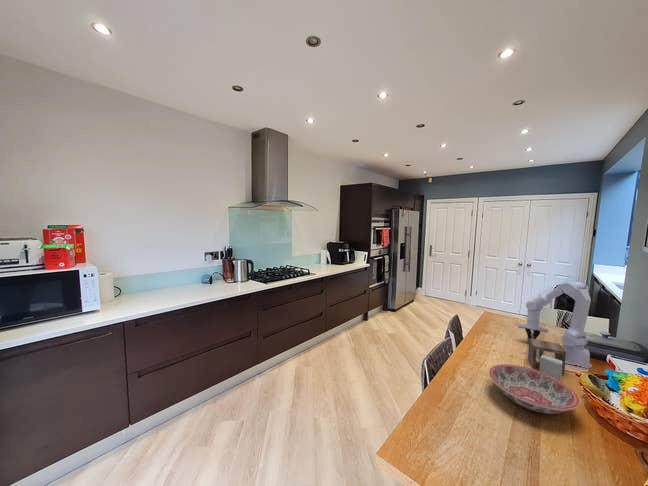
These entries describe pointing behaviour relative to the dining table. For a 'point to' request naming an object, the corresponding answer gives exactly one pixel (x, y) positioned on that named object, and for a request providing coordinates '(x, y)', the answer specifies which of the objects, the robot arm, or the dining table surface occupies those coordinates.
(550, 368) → the medicine box
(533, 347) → the low cabinet
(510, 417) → the dining table surface
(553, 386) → the ceramic bowl
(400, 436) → the dining table surface
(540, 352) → the steel block
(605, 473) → the dining table surface
